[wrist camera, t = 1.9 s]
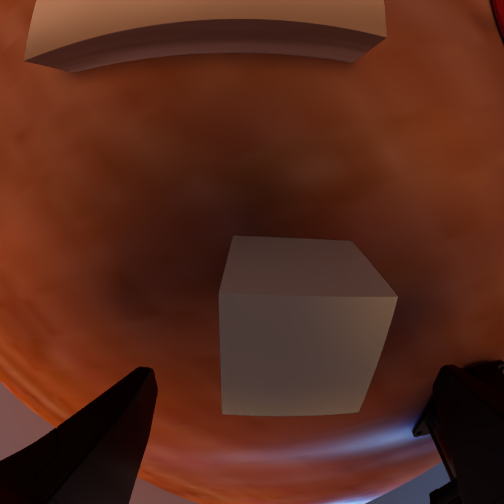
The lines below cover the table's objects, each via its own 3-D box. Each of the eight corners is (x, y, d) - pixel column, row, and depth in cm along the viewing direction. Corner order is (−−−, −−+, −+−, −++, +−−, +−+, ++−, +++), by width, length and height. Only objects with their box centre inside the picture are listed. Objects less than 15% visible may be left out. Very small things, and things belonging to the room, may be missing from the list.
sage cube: (333, 336, 14) (358, 412, 10) (232, 334, 14) (222, 414, 10) (351, 240, 12) (398, 296, 8) (233, 234, 13) (218, 292, 8)
